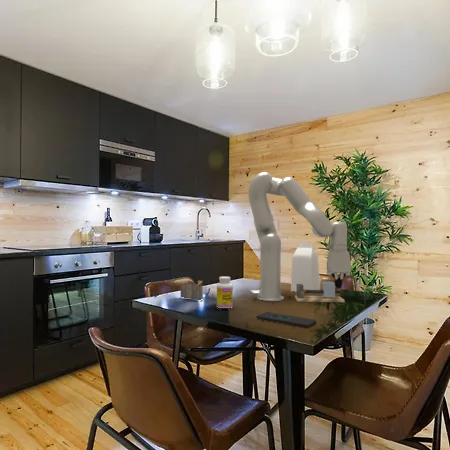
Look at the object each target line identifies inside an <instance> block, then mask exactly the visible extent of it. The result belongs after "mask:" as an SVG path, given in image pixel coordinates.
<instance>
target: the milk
mask: <svg viewBox="0 0 450 450" xmlns="http://www.w3.org/2000/svg"><path fill="white" fill-rule="evenodd" d="M313 246H314V245H313V244H312V243H311V242H299V244H298V246H297V247H296V250H295V251H294V253H293V255H292V260H291V261H292V263H291V277H290V278H291V279H290V292H292V291H295V293H297V284H302V285H303V289H305V290H321V286H320V284H321V283H320V266H319V255H318V253H317V252H316V250H315V248H314V247H313ZM310 294H312V295H313V294H314V293H310Z"/></svg>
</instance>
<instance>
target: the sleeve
mask: <svg viewBox="0 0 450 450" xmlns="http://www.w3.org/2000/svg"><path fill="white" fill-rule="evenodd" d="M321 290H324V294H321V296H323V297H335V296H336V294H335V290H336V286H335V281H322V282H321Z"/></svg>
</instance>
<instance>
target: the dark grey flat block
mask: <svg viewBox="0 0 450 450" xmlns="http://www.w3.org/2000/svg"><path fill="white" fill-rule="evenodd" d="M255 317H256V318H258V319H257V320H259V319H263V320H262V321H264V320H267V321H266V322H269V321H273V322H272V323H275V322H279V323H278V324H280V323H284V324H283V325H286V324H289V325H288V326H291V325H294V326H293V327H297V326H299V327H298V328H302V327H303V329H309V328H311V327H312V326H314V324H315V325H316V324H317V320H316V319H313V318H306V317H301V316H295V315H289V314H282V313H275V312H271V311H266V312H263V313H260V314H258V315H257V314H256V316H255Z"/></svg>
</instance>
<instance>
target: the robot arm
mask: <svg viewBox="0 0 450 450" xmlns="http://www.w3.org/2000/svg"><path fill="white" fill-rule="evenodd" d="M267 194H269V195H274V196H281V197H285V199H286V200H287V201H288V202H289V204H290V205H291V206H292V208H293V209H294V210H295V212H297V213H298V214H299V215H300V216H302V217H303V218H305V220H307V222H308V223H309V224H310V226H311V227H312V229H311V230H312V233H313V235H314V236H316V237H317V238H329V244H328V245H326V249H329V250H328V252H327V257H326V259H327V261H326V275H328V276H331V277H332V278H333V279H334V283H335V289H336V288H337V289H341V288H342V286H343V279H344V278H345V277H347V276H350V275H351V271H352V266H351V265H352V264H351V257H350V251H348V235H347V234H348V230H347V229H348V225H347V223H346V222H345V221H332V222H331V221H330V220H329V218H327V216H326V215H325V214H324V212H322V210H321V209H320V208H319V207H318V206H317V204H315V202H313V200H311V198H310V197H309V195H307V193H306V191H304V189H303V188H302V187H301V186H300V184H299V182H298V181H297V180H296V179H295V178H293V177H291V176H286V177H283V178H278V177H273V176H272V174H270V173H269V172H268V171H262V172H260V173H258V174H256V175H255V176H254V177H253V179H252V180H251V182H250V183H249V187H248V194H247V195H248V200H249V204H250V205H249V206H250V209H251V212H252V216H253V223H254V227H255V232H256V234H257V238H258V241H259V245H260V247H259V249H260V250H259V251H260V254H259V255H260V261H259V263H260V264H259V265H260V267H259V268H260V273H259V275H260V277H259V278H260V279H259V281H260V288H259V289H256V290H255V289H251V290H250V295H257V296H256V299H257V300H260V301H262V300H263V301H264V302H281V301H284V300H285V297H284V296H283V295H282V294H281V293H282V291H281V290H282V289H281V276H282V275H281V273H282V271H281V268H282V267H281V265H282V264H281V263H282V261H281V257H282V256H281V254H282V253H281V252H282V241H281V238H280V235H278V233H277V229H276V226H275V222H274V221H275V219H274V216H273V214H272V211H271V208H270V205H269V201H268V196H267ZM338 274H339V275H338ZM263 301H262V302H263Z"/></svg>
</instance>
